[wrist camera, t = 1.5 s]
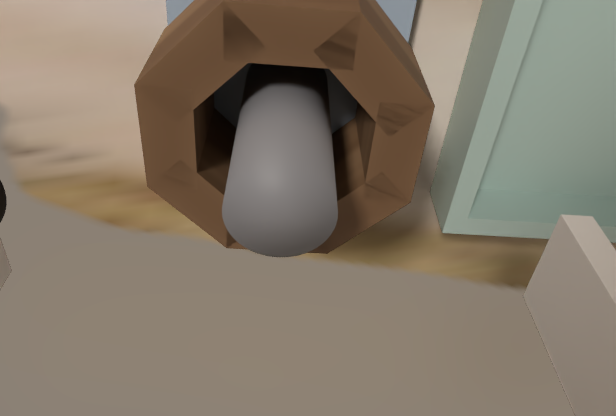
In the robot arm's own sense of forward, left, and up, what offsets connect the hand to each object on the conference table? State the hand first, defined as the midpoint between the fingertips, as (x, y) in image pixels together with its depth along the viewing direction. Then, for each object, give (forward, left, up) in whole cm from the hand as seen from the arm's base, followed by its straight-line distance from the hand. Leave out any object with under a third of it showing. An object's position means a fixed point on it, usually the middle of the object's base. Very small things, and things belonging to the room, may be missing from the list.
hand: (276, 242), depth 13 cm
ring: (0, 0, -8) cm, 8 cm away
